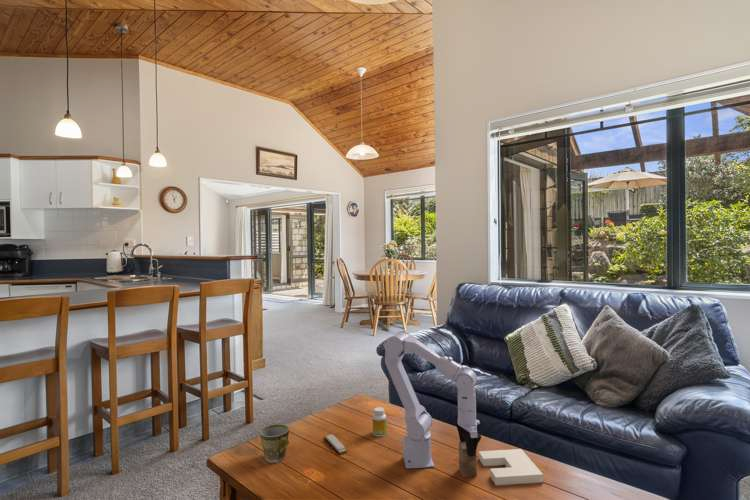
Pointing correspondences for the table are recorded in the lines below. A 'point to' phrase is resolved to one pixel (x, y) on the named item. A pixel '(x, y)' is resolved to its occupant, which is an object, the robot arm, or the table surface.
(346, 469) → the table surface
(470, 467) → the peg
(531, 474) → the socket block
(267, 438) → the ceramic cup
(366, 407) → the table surface
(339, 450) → the harmonica
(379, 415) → the supplement bottle
